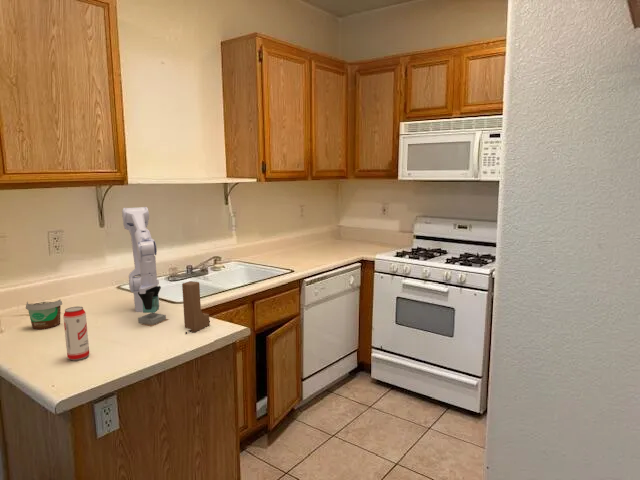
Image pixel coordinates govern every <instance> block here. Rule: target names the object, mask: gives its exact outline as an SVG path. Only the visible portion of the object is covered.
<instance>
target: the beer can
mask: <svg viewBox="0 0 640 480" xmlns="http://www.w3.org/2000/svg"><path fill="white" fill-rule="evenodd" d="M63 326H64V337H65V346H66V347H65V348H66V356H67V359H69V360H70V361H75V362H76V361H82V360H84V359H86V358H87V357H88V356H89V355H90V346H89V345H90V343H89V335H88V325H87V315H86V311H85V309H84V307H83V306H73V307H72V306H70V307H67V308H65V309H64V312H63Z"/></svg>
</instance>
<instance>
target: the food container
mask: <svg viewBox="0 0 640 480" xmlns="http://www.w3.org/2000/svg"><path fill="white" fill-rule="evenodd" d="M62 305H63V301H62V300H61V299H57V300H56V301H41V302H36V303H29V302H28V301H27V302H26V304H25V310H27V311H28V315H29V319H30V323H31V327H32V330H35V331H42V330H50V329H53V328H56V327H58V326H59V327H60V325H61V306H62Z"/></svg>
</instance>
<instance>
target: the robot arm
mask: <svg viewBox="0 0 640 480" xmlns="http://www.w3.org/2000/svg"><path fill="white" fill-rule="evenodd" d="M121 214H122V215H121V217H122V222H123V223H122V224H123V227H124V230H127V231H128V232H129V234H130V238H131V239H130V240H131V248H132V257H133V264H134V269H132V270H131V272H130V273H129V274H128V286H129V291H130V292H131V293H133V301H134V304H133V305H134V311H135V313H143V304H144V307H145V309H146V310H151V309H152V299H153V297H158V302H159V303H160V298H159V297H160V296H159V293H160V291H161V288H162V286H160V279H158V276H157V262H156V261H157V260H156V256H157V251H158V250H157V243H156V240H155V239H154V238H152V234H151V231H150V230H149V229H148V226H149V220H150V211H149V208H148V207H147V206H141V207H123V208H122V209H121ZM142 301H143V302H142Z"/></svg>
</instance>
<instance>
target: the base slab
mask: <svg viewBox="0 0 640 480" xmlns="http://www.w3.org/2000/svg"><path fill="white" fill-rule="evenodd" d="M169 320H170V319H168V318H166V320H164V321H162V322H159V323H157V324H154V325H147V324H142V323H139V324H140V326H146V327H154V326H156V325H159V324H162V323H164V322H167V321H169Z"/></svg>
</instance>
